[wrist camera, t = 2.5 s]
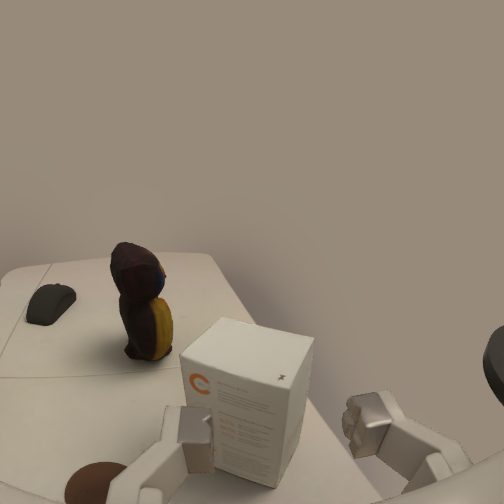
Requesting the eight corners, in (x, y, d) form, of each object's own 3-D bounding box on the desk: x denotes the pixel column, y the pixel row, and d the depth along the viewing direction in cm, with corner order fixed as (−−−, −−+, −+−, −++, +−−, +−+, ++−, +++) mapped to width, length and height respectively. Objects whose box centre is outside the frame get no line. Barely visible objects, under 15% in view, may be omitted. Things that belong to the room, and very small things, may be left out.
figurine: (187, 365, 39) (177, 254, 34) (136, 380, 35) (114, 265, 30) (162, 329, 47) (152, 232, 42) (118, 340, 43) (101, 241, 38)
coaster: (166, 487, 22) (165, 485, 22) (119, 549, 14) (118, 548, 14) (98, 451, 24) (97, 449, 24) (50, 500, 17) (48, 498, 17)
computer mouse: (79, 296, 55) (75, 277, 54) (50, 326, 44) (44, 304, 43) (54, 294, 55) (50, 275, 53) (24, 322, 44) (18, 301, 43)
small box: (299, 441, 27) (317, 336, 23) (276, 490, 22) (290, 390, 18) (225, 418, 31) (221, 313, 26) (194, 459, 25) (176, 354, 21)
